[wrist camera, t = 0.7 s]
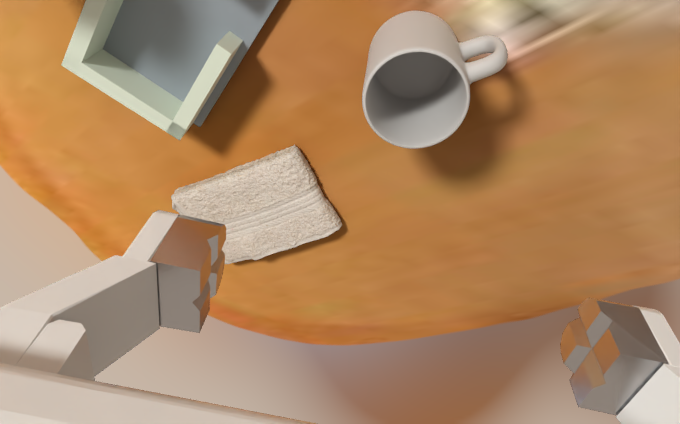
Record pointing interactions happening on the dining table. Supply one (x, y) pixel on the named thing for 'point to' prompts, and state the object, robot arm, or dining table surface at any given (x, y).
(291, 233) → the washcloth
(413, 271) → the dining table surface
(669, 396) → the robot arm
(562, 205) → the dining table surface
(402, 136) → the mug
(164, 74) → the dock
